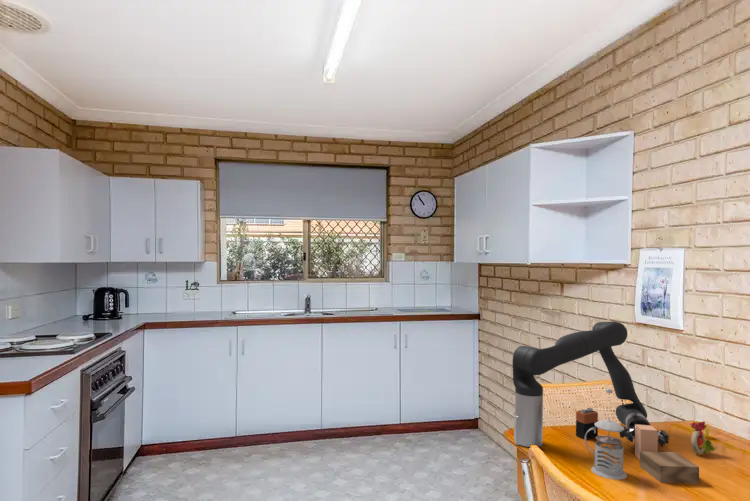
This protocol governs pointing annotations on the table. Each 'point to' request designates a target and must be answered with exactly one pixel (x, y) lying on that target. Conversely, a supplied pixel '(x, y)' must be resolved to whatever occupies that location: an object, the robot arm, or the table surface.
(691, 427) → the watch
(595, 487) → the table surface
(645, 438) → the terracotta block
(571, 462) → the table surface
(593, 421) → the battery
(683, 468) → the walnut block
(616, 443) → the french press
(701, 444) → the bird rattle
